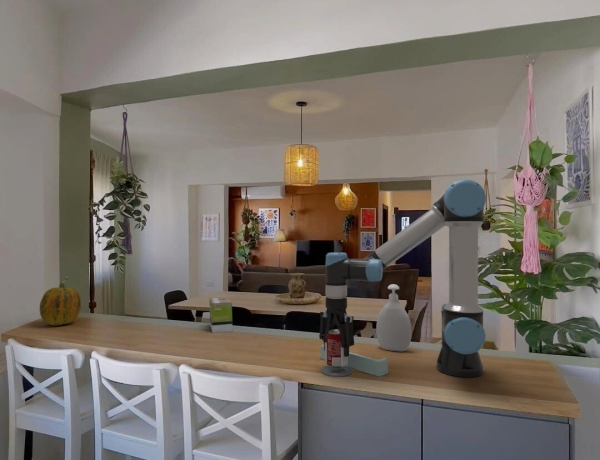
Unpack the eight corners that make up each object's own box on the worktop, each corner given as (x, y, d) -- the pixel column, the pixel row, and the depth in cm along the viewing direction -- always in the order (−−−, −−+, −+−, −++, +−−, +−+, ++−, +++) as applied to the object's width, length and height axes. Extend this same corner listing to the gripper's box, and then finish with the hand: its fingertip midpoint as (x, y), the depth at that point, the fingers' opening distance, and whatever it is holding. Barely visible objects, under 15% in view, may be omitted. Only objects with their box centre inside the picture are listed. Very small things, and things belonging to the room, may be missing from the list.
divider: (387, 373, 138) (387, 358, 138) (379, 376, 135) (379, 361, 135) (329, 355, 158) (329, 343, 158) (320, 358, 155) (320, 345, 155)
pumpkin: (76, 319, 227) (76, 274, 227) (84, 325, 212) (84, 277, 213) (37, 324, 215) (37, 277, 215) (42, 330, 200) (42, 280, 201)
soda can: (345, 369, 137) (345, 334, 137) (325, 368, 138) (325, 333, 138) (346, 363, 143) (346, 329, 143) (327, 362, 145) (327, 328, 145)
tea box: (209, 326, 209) (209, 297, 209) (228, 325, 212) (228, 296, 212) (211, 333, 195) (211, 302, 195) (232, 331, 198) (232, 301, 198)
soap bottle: (414, 349, 167) (413, 283, 167) (409, 354, 160) (409, 286, 160) (379, 344, 174) (379, 282, 174) (374, 349, 166) (373, 284, 167)
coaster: (358, 371, 140) (358, 370, 140) (337, 379, 133) (337, 378, 133) (335, 364, 148) (335, 362, 148) (314, 371, 141) (314, 369, 141)
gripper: (365, 299, 136) (365, 367, 136) (323, 292, 150) (323, 354, 150) (351, 301, 131) (351, 372, 131) (308, 294, 145) (308, 358, 145)
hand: (336, 362), depth 141 cm, fingers closed on soda can, 7 cm apart
